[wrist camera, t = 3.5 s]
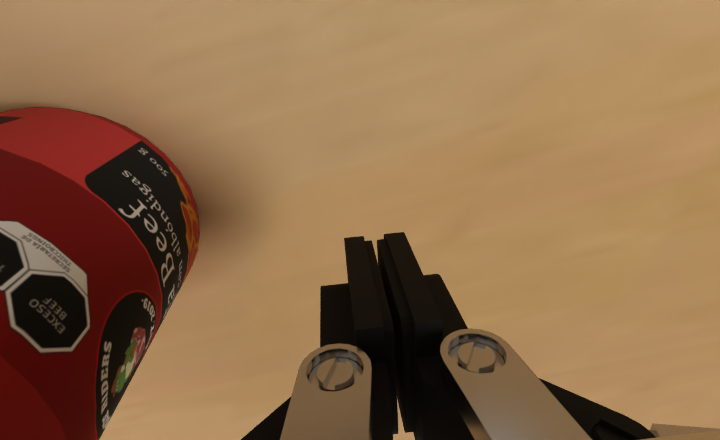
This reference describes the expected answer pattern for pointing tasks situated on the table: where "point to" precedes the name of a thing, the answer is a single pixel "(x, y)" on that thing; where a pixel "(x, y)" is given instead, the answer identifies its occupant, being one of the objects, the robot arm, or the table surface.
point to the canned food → (82, 266)
